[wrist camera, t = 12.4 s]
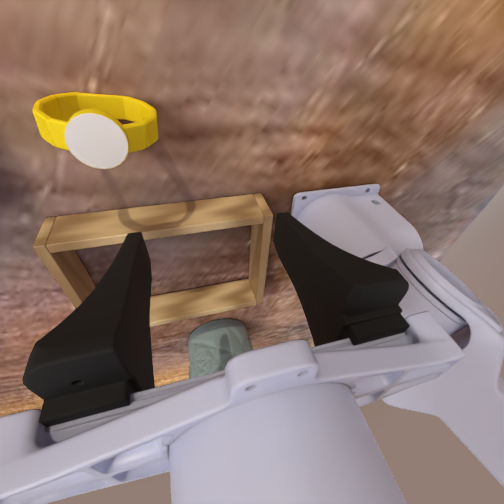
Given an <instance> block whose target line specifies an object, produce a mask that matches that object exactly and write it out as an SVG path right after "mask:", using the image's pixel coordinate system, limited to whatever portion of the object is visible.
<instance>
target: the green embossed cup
mask: <svg viewBox="0 0 504 504" xmlns="http://www.w3.org/2000/svg"><path fill="white" fill-rule="evenodd" d="M251 350H253V349H252V345H251V343H250V341H249V340H248V333H247V331H246V328H245V326H244V325H243V323H241V322H240V321H238V320H234V319H218V320H214V321H210V322H207V323H205V324H203V325H201V326H199V327H198V328H196V329H195V330H194V331H193V332H192V333H191V335H190V336H189V340H188V351H189V361H190V366H189V379H191V378H195V377H199V376H202V375H206V374H210V373H214V372H218V371H222V370H225V367H226V365H227V363H228V361H229V360H230V359H232V358H233V357H235V356H236V355H238V354H241V353H244V352H247V351H251Z"/></svg>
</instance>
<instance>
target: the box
mask: <svg viewBox="0 0 504 504" xmlns="http://www.w3.org/2000/svg"><path fill="white" fill-rule="evenodd" d="M272 220H273V214H272V212H271V210H270V209H269V207H268V205H267V203H266V201H265V199H264V198H263V196H262V194H261V193H258V194H250V195H241V196H232V197H223V198H214V199H206V200H197V201H188V202H179V203H171V204H162V205H153V206H144V207H135V208H127V209H118V210H109V211H100V212H91V213H83V214H74V215H65V216H57V217H47V218H45V219H44V222H43V224H42V226H41V229H40V231H39V233H38V236H37V238H36V240H35V243H34V245H33V249H34V250H35V252H36V253H37V254H38V256H39V257H40V259H41V260H42V261H43V263H44V264H45V266H46V267H47V269H48V270H49V271H50V273H51V274H52V276H53V277H54V278H55V280H56V281H57V283H58V284H59V285H60V287H61V288H62V290H63V291H64V293H65V294H66V295H67V297H68V298H69V300H70V301H71V302H72V304H73V305H74V307H75V308H77V307H78V306H79V305H80V304H81V303H82V302H83V301H84V300H85V299H86V298H87V297H88V296H89V294H90V293H91V292H92V291H93V290H94V288H95V285H94V283H93V281H92V280H91V278H90V276H89V274H88V272H87V271H86V269H85V267H84V265H83V264H82V262H81V260H80V258H79V257H78V255H77V253H76V251H75V250H77V249H84V248H91V247H98V246H105V245H112V244H120V243H123V242H124V240H125V238H126V236H127V234H128V233H134V232H142V235H143V238H144V240H148V239H155V238H163V237H170V236H177V235H184V234H191V233H198V232H205V231H213V230H220V229H227V228H234V227H241V226H248V225H251V243H250V262H249V279H242V280H237V281H231V282H226V283H221V284H215V285H210V286H204V287H199V288H193V289H188V290H183V291H177V292H172V293H166V294H161V295H155V296H151V299H150V327H153V326H157V325H162V324H167V323H172V322H177V321H181V320H186V319H191V318H196V317H201V316H205V315H210V314H215V313H220V312H225V311H229V310H234V309H239V308H244V307H249V306H253V305H258V304H262V303H263V296H264V287H265V279H266V270H267V262H268V254H269V245H270V237H271V228H272Z"/></svg>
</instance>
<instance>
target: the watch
mask: <svg viewBox="0 0 504 504" xmlns="http://www.w3.org/2000/svg"><path fill="white" fill-rule="evenodd" d="M33 114H34V117H35V120H36V123H37V126H38V128H39V131H40V134H41V136H42V138H44V139H45V140H46V141H48V142H49V143H50V144H52V145H53V146H55V147H58V148H60V149H64V150H68V151H70V152H71V153H72V154H73V155H74V156H75V157H76V158H77V159H78V160H79V161H81V162H82V163H84V164H85V165H88V166H90V167H93V168H98V169H110V168H114V167H116V166H119V165H120V164H122V162H123V161H124V160H125V159H126V158H127V155H128V153H131V152H135V151H139V150H143V149H145V148H147V147H149V146H150V145H152V144H153V143H154V142H156V141H157V139H158V127H157V114H156V110H155V109H154V108H153V107H152V106H150V105H149V104H147V103H146V102H143V101H141V100H138V99H135V98H131V97H128V96H117V95H103V94H89V93H78V92H76V91H75V92H69V93H61V94H53V95H50V96H47V97H45V98H42V99H40V100H37V101H36V102H35V104H34V107H33ZM117 119H123V120H129V121H132V122H135V123H129V124H123V125H122V124H121V123H120V122H119V121H118V120H117ZM67 121H68V122H67Z"/></svg>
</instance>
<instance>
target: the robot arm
mask: <svg viewBox="0 0 504 504" xmlns="http://www.w3.org/2000/svg"><path fill="white" fill-rule="evenodd" d="M379 190H380V186H379V185H378V184H368V185H360V186H351V187H343V188H334V189H326V190H317V191H309V192H300V193H297V194H295V195H294V197H293V202H292V208H291V214H289V213H288V212H284V213H277V217H276V224H275V232H274V240H273V242H274V245H275V248H276V250H277V253H278V256H279V258H280V260H281V262H282V264H283V266H284V268H285V270H286V272H287V274H288V275H289V277H290V279H291V281H292V283H293V285H294V287H295V289H296V292H297V294H298V297H299V299H300V302H301V305H302V307H303V310H304V313H305V316H306V319H307V322H308V325H309V328H310V331H311V334H312V337H313V341H314V344H315V347H312V348H311V346H310V344H309V342H307V341H304V340H301V339H299V340H291V341H287V342H283V343H279V344H275V345H271V346H267V347H263V348H259V349H255V350H251V351H247V352H244V353H241V354H238V355H236V356H235V357H233V358H232V359H230V360H229V361H228V363H227V365H226V367H225V370H222V371H218V372H214V373H210V374H206V375H202V376H199V377H195V378H191V379H187V380H183V381H179V382H175V383H171V384H167V385H163V386H160V387H156V388H155V385H154V375H153V364H152V351H151V337H150V299H151V280H152V276H151V263H150V258H149V255H148V251H147V248H146V245H145V242H144V238H143V235H142V232H134V233H128V234H127V236H126V238H125V240H124V242H123V244H122V246H121V248H120V250H119V252H118V254H117V256H116V257H115V259H114V261H113V263H112V264H111V266H110V267H109V269H108V270H107V272H106V273H105V275H104V276H103V278H102V279H101V281H100V282H99V283H98V285H97V286H96V287H95V288H94V290H93V291H92V292H91V293H90V294H89V296H88V297H87V298H86V299H85V300H84V301H83V302H82V303H81V304H80V305H79V306H78V307H77V308H76V309H75V310H74V311H73V312H72V313H71V314H70V315H69V316H68V317H67V318H66V319H65V320H63V321H62V322H61V323H60V324H59V325H58V326H57V327H55V328H54V329H53V330H51V331H50V332H49V333H48V334H46V335H45V336H44V337H43V338H41V339H40V340H39V341H37V342H36V343H35V345H34V348H33V350H32V352H31V354H30V357H29V360H28V363H27V366H26V369H25V372H24V376H23V384H24V385H25V386H26V387H27V388H28V389H29V390H31V391H32V392H34V393H35V394H36V395H38V396H39V397H41V398H42V399H44V403H43V407H42V410H40V409H32V410H26V411H22V412H18V413H14V414H10V415H6V416H2V417H0V504H47V503H50V502H54V501H57V500H61V499H64V498H67V497H71V496H75V495H79V494H83V493H86V492H90V491H94V490H98V489H102V488H106V487H110V486H114V485H118V484H122V483H126V482H130V481H134V480H138V479H141V478H145V477H149V476H153V475H157V474H161V473H165V472H169V471H170V479H171V500H172V504H407V502H406V500H405V498H404V496H403V494H402V492H401V490H400V488H399V486H398V484H397V482H396V480H395V478H394V476H393V474H392V472H391V470H390V468H389V466H388V464H387V462H386V460H385V458H384V457H383V454H382V452H381V450H380V449H379V447H378V444H377V442H376V440H375V438H374V436H373V434H372V432H371V430H370V428H369V426H368V424H367V422H366V420H365V419H364V416H363V415H362V412H361V410H360V408H361V407H363V406H366V405H368V404H370V403H373V402H375V401H378V400H380V399H382V400H383V401H384V402H385V403H386V404H388V405H390V406H395V407H399V408H403V409H408V410H413V411H419V412H423V413H427V414H431V415H435V416H438V417H439V418H440V419H441V420H442V421H443V422H444V423H445V424H446V425H447V426H448V428H449V429H450V430H451V431H452V432H453V433H454V434H455V435H456V436H457V437H458V438H459V439H460V440H461V442H462V443H463V444H464V445H465V446H466V447H467V448H468V449H469V450H470V451H471V452H472V453H473V454H474V456H475V457H476V458H477V459H478V460H479V461H480V462H481V463H482V464H483V465H484V466H485V467H486V469H487V470H489V472H490V473H491V474H492V475H493V476H494V477H495V478H496V479H497V480H498V481H499V482H500V484H501V485H502V486H503V487H504V379H503V378H501V376H500V371H501V367H502V363H503V358H504V330H503V326H502V324H501V322H500V320H499V319H498V318H497V316H496V315H495V314H494V313H493V312H492V311H491V310H490V309H489V308H488V307H486V306H485V305H484V304H483V303H482V302H481V301H480V300H479V299H478V297H477V296H476V295H475V294H474V293H473V292H472V291H471V290H470V289H469V288H468V287H467V286H466V285H465V284H464V283H463V282H462V281H461V280H460V279H459V278H458V277H456V276H455V275H454V274H453V273H452V272H451V271H450V270H448V269H447V268H446V267H445V266H443V265H442V264H441V263H440V262H439V261H437V260H436V259H435V258H433V257H432V256H431V255H429V254H428V253H426V252H425V251H423V245H422V241H421V238H420V236H419V234H418V232H417V231H416V229H415V228H414V227H413V226H412V225H411V224H410V223H409V222H408V221H407V220H406V219H405V218H404V217H403V216H401V215H400V214H399V213H398V212H397V211H396V210H395V209H394V208H393V207H391V206H390V205H389V204H388V203H387V202H386V201H385V200H384V199H383V198H382V197H380V196H379V195H378V193H379ZM304 196H305V197H304ZM302 197H304V198H303V199H302Z"/></svg>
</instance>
